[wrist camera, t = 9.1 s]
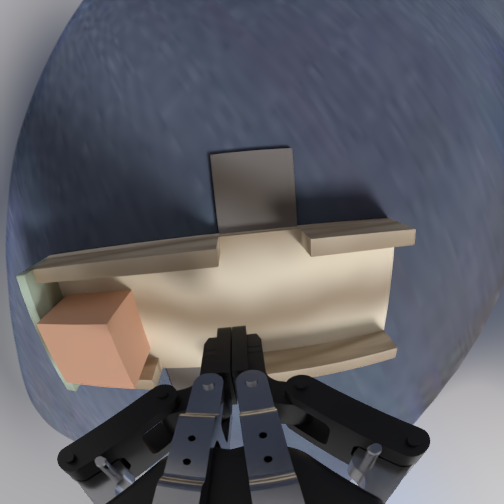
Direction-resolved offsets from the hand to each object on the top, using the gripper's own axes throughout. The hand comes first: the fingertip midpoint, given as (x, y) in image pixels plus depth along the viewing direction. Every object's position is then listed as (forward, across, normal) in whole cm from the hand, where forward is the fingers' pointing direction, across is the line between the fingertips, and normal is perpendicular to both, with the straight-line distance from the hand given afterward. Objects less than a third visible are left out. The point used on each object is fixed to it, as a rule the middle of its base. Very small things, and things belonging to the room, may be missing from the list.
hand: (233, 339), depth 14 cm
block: (+4, +10, +1) cm, 11 cm away
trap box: (+5, +1, 0) cm, 5 cm away
